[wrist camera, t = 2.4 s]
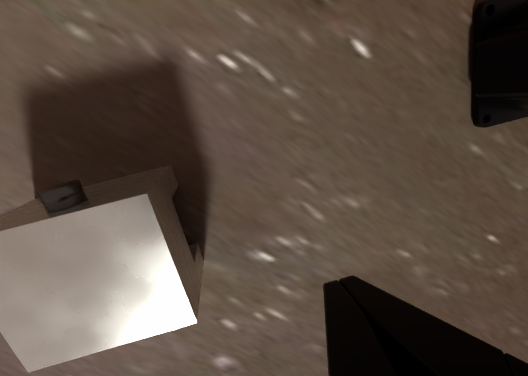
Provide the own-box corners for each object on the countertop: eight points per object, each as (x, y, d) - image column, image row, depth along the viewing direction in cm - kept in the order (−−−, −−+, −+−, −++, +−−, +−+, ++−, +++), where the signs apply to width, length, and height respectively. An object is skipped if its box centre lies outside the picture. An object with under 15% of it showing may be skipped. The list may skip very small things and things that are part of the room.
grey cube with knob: (166, 149, 14) (138, 172, 10) (204, 259, 16) (196, 322, 12) (27, 184, 14) (-74, 225, 9) (85, 292, 16) (28, 372, 11)
